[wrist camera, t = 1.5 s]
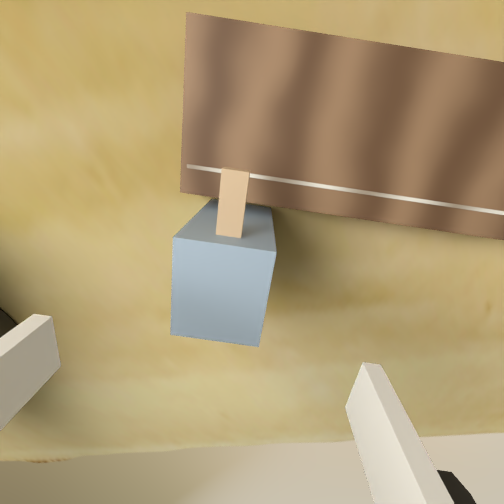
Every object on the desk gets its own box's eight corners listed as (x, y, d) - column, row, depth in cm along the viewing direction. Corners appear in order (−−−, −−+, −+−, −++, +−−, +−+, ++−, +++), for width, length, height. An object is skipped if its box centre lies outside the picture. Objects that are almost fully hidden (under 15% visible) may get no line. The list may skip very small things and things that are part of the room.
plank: (192, 185, 26) (179, 192, 22) (199, 35, 21) (186, 11, 17) (489, 229, 26) (528, 243, 22) (559, 92, 22) (623, 80, 18)
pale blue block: (206, 261, 29) (170, 334, 17) (215, 156, 24) (174, 164, 13) (260, 269, 29) (258, 347, 18) (277, 166, 25) (290, 181, 13)
